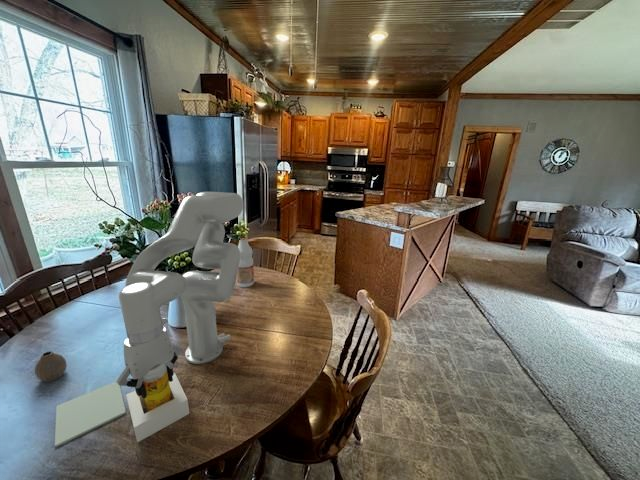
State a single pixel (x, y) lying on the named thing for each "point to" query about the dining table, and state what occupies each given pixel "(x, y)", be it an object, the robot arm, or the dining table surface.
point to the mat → (88, 412)
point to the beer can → (157, 387)
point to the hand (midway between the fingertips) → (156, 386)
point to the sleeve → (157, 411)
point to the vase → (50, 367)
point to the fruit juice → (245, 264)
